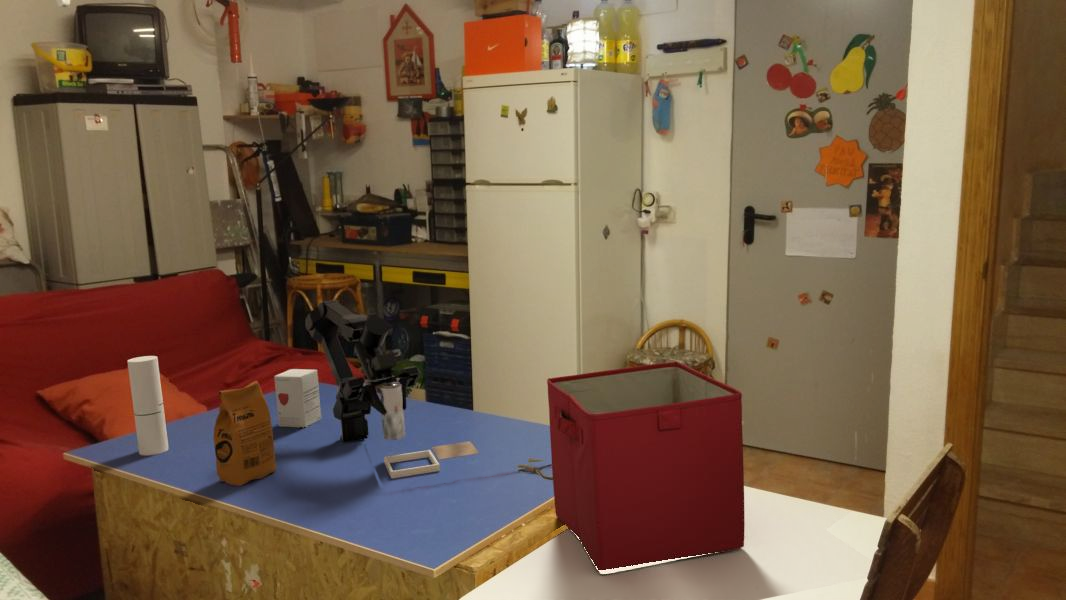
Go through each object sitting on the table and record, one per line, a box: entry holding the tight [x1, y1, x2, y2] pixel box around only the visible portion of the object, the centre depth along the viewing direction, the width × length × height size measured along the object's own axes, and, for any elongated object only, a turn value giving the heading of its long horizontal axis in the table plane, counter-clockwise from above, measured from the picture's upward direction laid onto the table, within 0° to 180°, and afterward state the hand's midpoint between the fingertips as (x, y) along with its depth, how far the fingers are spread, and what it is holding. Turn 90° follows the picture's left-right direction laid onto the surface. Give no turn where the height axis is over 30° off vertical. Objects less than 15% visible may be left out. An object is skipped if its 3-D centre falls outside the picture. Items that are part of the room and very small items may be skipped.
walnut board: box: [430, 440, 480, 460], centre depth 204 cm, size 10×10×1 cm
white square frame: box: [383, 449, 441, 479], centre depth 194 cm, size 11×11×2 cm
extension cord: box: [517, 458, 553, 480], centre depth 190 cm, size 12×16×2 cm
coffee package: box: [213, 380, 277, 487], centre depth 195 cm, size 10×12×22 cm
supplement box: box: [274, 368, 322, 429], centre depth 237 cm, size 9×9×15 cm
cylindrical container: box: [127, 355, 170, 456], centre depth 217 cm, size 7×7×25 cm
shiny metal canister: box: [379, 382, 406, 441], centre depth 199 cm, size 5×5×13 cm
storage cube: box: [546, 361, 746, 570], centre depth 153 cm, size 32×28×29 cm
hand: (394, 411), depth 198 cm, fingers closed on shiny metal canister, 5 cm apart
